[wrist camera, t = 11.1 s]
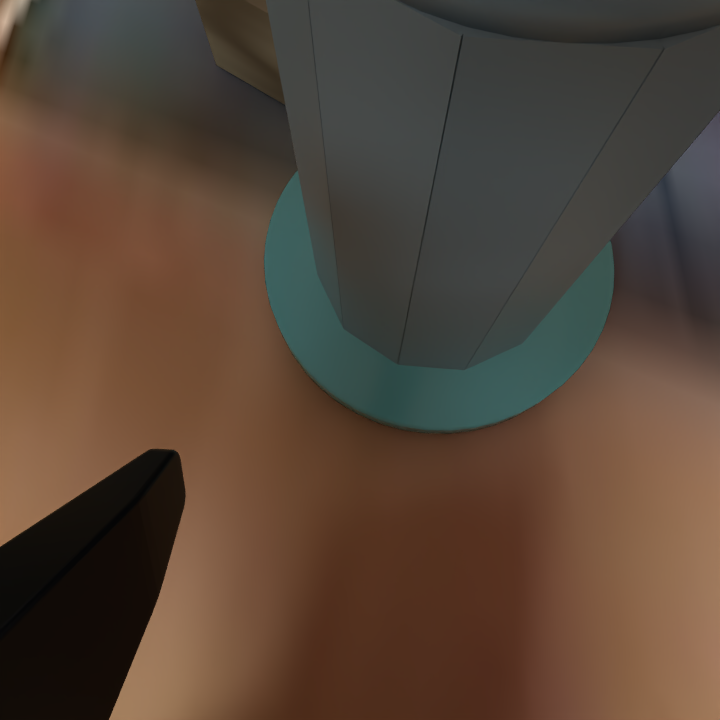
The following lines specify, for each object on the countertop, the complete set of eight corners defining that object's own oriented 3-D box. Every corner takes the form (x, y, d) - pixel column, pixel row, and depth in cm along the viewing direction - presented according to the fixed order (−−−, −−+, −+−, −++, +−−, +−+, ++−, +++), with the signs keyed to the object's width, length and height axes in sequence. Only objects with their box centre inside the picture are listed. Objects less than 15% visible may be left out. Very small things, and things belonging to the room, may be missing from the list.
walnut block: (362, 41, 22) (361, -60, 18) (301, 114, 21) (287, 23, 18) (279, -4, 23) (261, -111, 19) (216, 65, 22) (184, -33, 18)
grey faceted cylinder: (597, 228, 18) (1026, -327, 6) (475, 416, 17) (746, 136, 5) (404, 117, 20) (466, -521, 8) (273, 282, 18) (91, -207, 6)
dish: (657, 234, 20) (675, 216, 19) (487, 506, 17) (496, 504, 16) (391, 82, 22) (392, 57, 20) (202, 308, 19) (192, 294, 18)
